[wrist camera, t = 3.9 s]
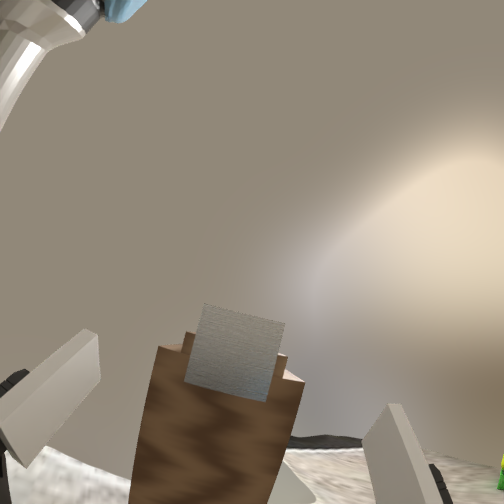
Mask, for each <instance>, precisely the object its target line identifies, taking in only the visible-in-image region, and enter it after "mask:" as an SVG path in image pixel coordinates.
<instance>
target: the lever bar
mask: <svg viewBox="0 0 504 504" xmlns="http://www.w3.org/2000/svg"><path fill="white" fill-rule="evenodd" d="M284 326H285V323H281V322H276V321H272V320H268V319H263V318H259V317H255V316H251V315H247V314H243V313H239V312H235V311H231V310H227V309H223V308H220V307H216V306H212V305H208V304H204V306H203V309H202V313H201V317H200V320H199V324H198V328H197V332H196V335H195V339H194V343H193V347H192V351H191V355H190V359H189V363H188V367H187V371H186V375H185V379H184V382H187V383H190V384H193V385H197V386H200V387H204V388H207V389H211V390H215V391H218V392H222V393H226V394H230V395H235V396H239V397H243V398H248V399H252V400H257V401H262V402H266V398H267V395H268V391H269V387H270V383H271V379H272V376H273V372H274V368H275V364H276V360H277V356H278V352H279V347H280V343H281V339H282V335H283V331H284Z"/></svg>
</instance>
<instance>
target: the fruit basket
mask: <svg viewBox="0 0 504 504" xmlns="http://www.w3.org/2000/svg"><path fill="white" fill-rule="evenodd" d="M501 467H502V469H501V473H500V479H499V483H498V487H497V489H504V455H503V459H502V463H501Z"/></svg>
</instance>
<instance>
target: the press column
mask: <svg viewBox="0 0 504 504" xmlns="http://www.w3.org/2000/svg"><path fill="white" fill-rule="evenodd" d="M195 335H196V333H195V332H186V334H185V338H184V342H183V344H174V345H163V346H158V350H157V354H156V359H155V363H154V366H153V371H152V375H151V379H150V384H149V388H148V393H147V397H146V402H145V406H144V411H143V416H142V421H141V426H140V432H139V437H138V442H137V448H136V454H135V460H134V466H133V472H132V479H131V486H130V493H129V501H128V504H267V502H268V499H269V496H270V494H271V491H272V489H273V486H274V483H275V480H276V478H277V475H278V472H279V469H280V466H281V463H282V460H283V457H284V454H285V451H286V448H287V445H288V442H289V438H290V435H291V432H292V429H293V425H294V422H295V418H296V415H297V411H298V407H299V404H300V401H301V397H302V393H303V389H304V385H305V382H304V381H302V380H301V379H299V378H298V377H296V376H295V375H293V374H292V373H290V372H289V371H287V370H286V369H285V366H286V363H287V359H288V357H287V356H285V355H282V354H279V353H278V356H277V360H276V364H275V368H274V372H273V376H272V379H271V383H270V387H269V391H268V395H267V398H266V402H262V401H257V400H252V399H248V398H243V397H239V396H235V395H230V394H226V393H222V392H218V391H215V390H211V389H207V388H204V387H200V386H197V385H193V384H190V383H187V382H184V379H185V375H186V371H187V367H188V363H189V359H190V355H191V351H192V347H193V343H194V339H195Z"/></svg>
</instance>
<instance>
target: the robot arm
mask: <svg viewBox="0 0 504 504" xmlns="http://www.w3.org/2000/svg"><path fill="white" fill-rule="evenodd" d="M146 1H147V0H0V132H1V130H2V127H3V125H4V123H5V121H6V119H7V117H8V115H9V113H10V111H11V110H12V108H13V106H14V104H15V102H16V100H17V99H18V97H19V95H20V93H21V92H22V90H23V88H24V87H25V85H26V83H27V81H28V80H29V78H30V77H31V75H32V74H33V72H34V70H35V69H36V68H37V66H38V65H39V63H40V62H41V61H42V59H43V58H44V56H45V55H46V53H47V52H48V51H50V50H51V49H53V48H55V47H57V46H60V45H63V44H66V43H70V42H73V41H77V40H81V39H82V38H83V37H84V36H85V35H86V34H87V32H88V31H89V30H90V29H91V28H92V27H93V26H94V24H96V22H97V21H98V20H99V19H101V18H102V17H105V20H106V21H108V22H115V23H122V22H124V21H126V20H127V19H129V18H130V17H131V16H132V15H133V14H134V13H135V12H136V11H137V10H138V9H139V8H140V7H141V6H142V5H143V4H144V3H145V2H146ZM100 380H101V375H100V363H99V350H98V334H96V333H93V332H91V331H89V330H87V329H83V330H82V331H81V332H80V333H78V334H77V335H76V336H74V337H73V338H72V339H71V340H69V341H68V342H67V343H66V344H64V345H63V346H62V347H61V348H60V349H58V350H57V351H56V352H54V353H53V354H52V355H51V356H50V357H48V358H47V359H46V360H45V361H43V363H41V364H40V365H39V366H37V367H36V368H35V369H34V370H33V371H31V372H29V371H27V370H26V369H23V370H20V371H17V372H14V373H13V374H12V375H11V376H9V377H8V378H7V379H6V381H3V382H2V383H1V384H0V504H12V502H11V497H10V491H9V484H8V477H7V468H6V458H5V454H4V452H5V451H6V450H8V452H9V453H10V455H11V456H12V458H14V459H15V460H16V461H17V462H18V463H20V464H21V465H22V466H23V467H25V468H26V469H27V467H28V466H29V465H30V464H31V462H32V461H33V460H34V459H35V457H36V456H37V455H38V454H39V452H40V451H41V450H42V449H43V448H44V446H45V445H46V444H47V443H48V441H49V440H50V439H51V438H52V437H53V435H54V434H55V433H56V432H57V431H58V429H59V428H60V427H61V426H62V425H63V423H64V422H65V421H66V420H67V419H68V417H69V416H70V415H71V414H72V413H73V412H74V410H75V409H76V408H77V407H78V406H79V404H80V403H81V402H82V401H83V400H84V398H85V397H86V396H87V395H88V394H89V393H90V392H91V390H92V389H93V388H94V387H95V386H96V385H97V384H98V382H99V381H100ZM361 442H362V445H363V449H364V453H365V457H366V461H367V465H368V469H369V474H370V478H371V482H372V486H373V491H374V495H375V500H376V504H453V502H452V499H451V497H450V494H449V492H448V489H446V488H447V487H446V484H445V482H443V481H444V480H443V477H442V475H441V473H440V471H439V470H438V469H437V468H436V467H435V465H434V464H429V465H428V463H427V461H426V459H425V456H424V454H423V452H422V449H421V447H420V445H419V442H418V440H417V438H416V436H415V433H414V431H413V429H412V427H411V425H410V423H409V421H408V418H407V416H406V414H405V412H404V410H403V408H402V406H401V404H390V403H387V405H386V407H385V408H384V409H383V411H382V413H381V414H380V416H379V417H378V419H377V420H376V422H375V423H374V425H373V426H372V427H371V429H370V430H369V432H368V433H367V434H366V436H365V437H364V439H363V440H362V441H361Z"/></svg>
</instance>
